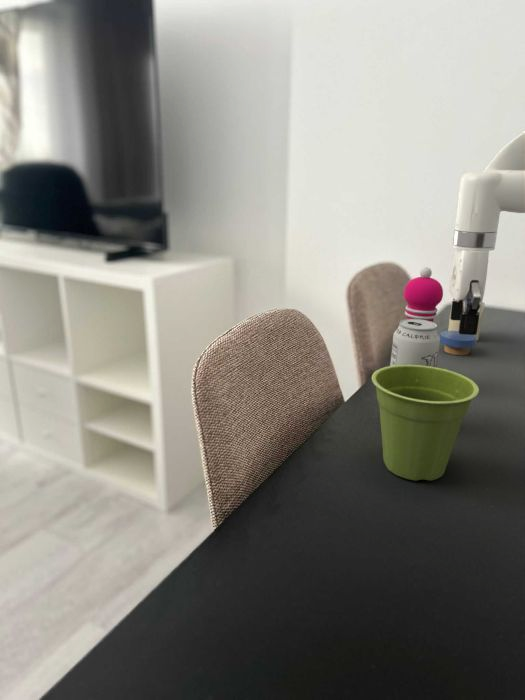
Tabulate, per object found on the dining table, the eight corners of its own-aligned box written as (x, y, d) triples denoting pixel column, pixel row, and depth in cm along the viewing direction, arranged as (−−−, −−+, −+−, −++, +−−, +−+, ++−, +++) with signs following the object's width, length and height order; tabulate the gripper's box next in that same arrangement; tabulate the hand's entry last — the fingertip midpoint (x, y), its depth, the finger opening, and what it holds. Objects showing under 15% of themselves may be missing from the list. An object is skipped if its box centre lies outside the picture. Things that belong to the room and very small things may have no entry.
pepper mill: (381, 383, 87) (394, 266, 81) (404, 373, 92) (417, 262, 86) (420, 396, 83) (436, 273, 76) (441, 385, 87) (458, 268, 81)
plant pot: (463, 452, 66) (477, 371, 63) (464, 504, 56) (481, 410, 52) (371, 435, 70) (379, 358, 66) (355, 481, 59) (364, 392, 56)
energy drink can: (416, 439, 69) (430, 333, 64) (376, 425, 73) (386, 323, 68) (434, 424, 74) (449, 323, 69) (395, 411, 77) (407, 315, 72)
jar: (471, 332, 117) (478, 293, 114) (483, 341, 111) (490, 300, 108) (443, 332, 117) (448, 292, 114) (453, 341, 111) (459, 299, 108)
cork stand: (463, 347, 107) (465, 334, 106) (472, 355, 102) (474, 341, 101) (440, 347, 107) (442, 333, 106) (448, 355, 102) (450, 340, 101)
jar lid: (435, 343, 103) (436, 336, 102) (442, 335, 108) (443, 328, 108) (472, 350, 99) (473, 342, 99) (477, 341, 105) (478, 334, 104)
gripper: (446, 234, 106) (437, 314, 112) (461, 246, 90) (450, 339, 96) (484, 235, 105) (473, 316, 110) (507, 247, 89) (492, 341, 94)
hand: (462, 326), depth 103 cm, fingers open, 9 cm apart
